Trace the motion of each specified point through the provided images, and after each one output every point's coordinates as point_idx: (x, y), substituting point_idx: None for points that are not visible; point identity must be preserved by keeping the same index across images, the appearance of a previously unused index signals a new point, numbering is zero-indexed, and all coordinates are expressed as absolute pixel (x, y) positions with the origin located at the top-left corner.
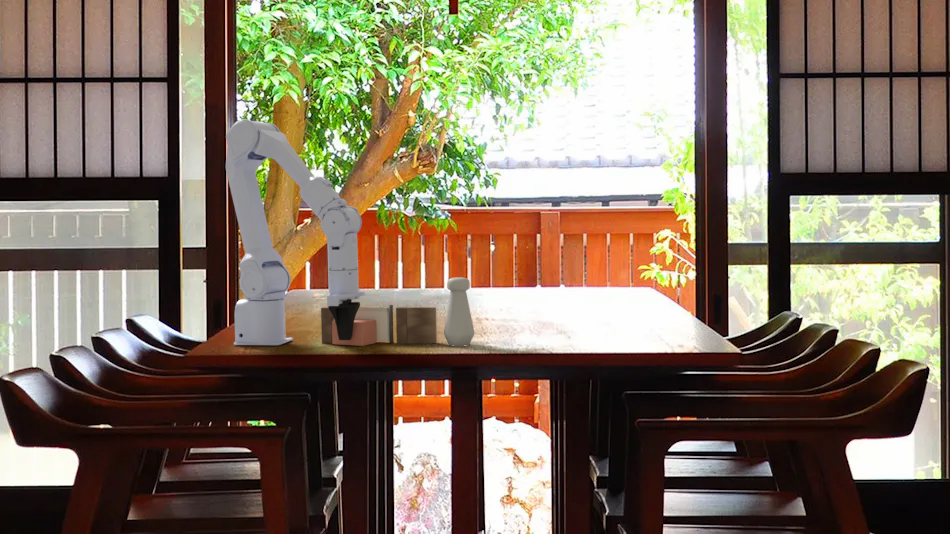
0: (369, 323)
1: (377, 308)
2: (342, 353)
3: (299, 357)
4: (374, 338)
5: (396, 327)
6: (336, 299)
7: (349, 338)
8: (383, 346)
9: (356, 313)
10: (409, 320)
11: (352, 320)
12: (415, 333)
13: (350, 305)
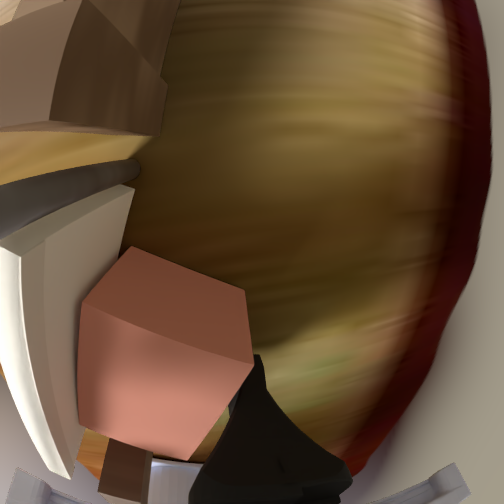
0: (171, 328)
1: (32, 343)
2: (395, 321)
3: (407, 390)
4: (140, 260)
5: (132, 130)
6: (463, 484)
7: (259, 358)
8: (250, 192)
9: (66, 417)
10: (121, 25)
11: (275, 414)
12: (155, 26)
13: (348, 486)
